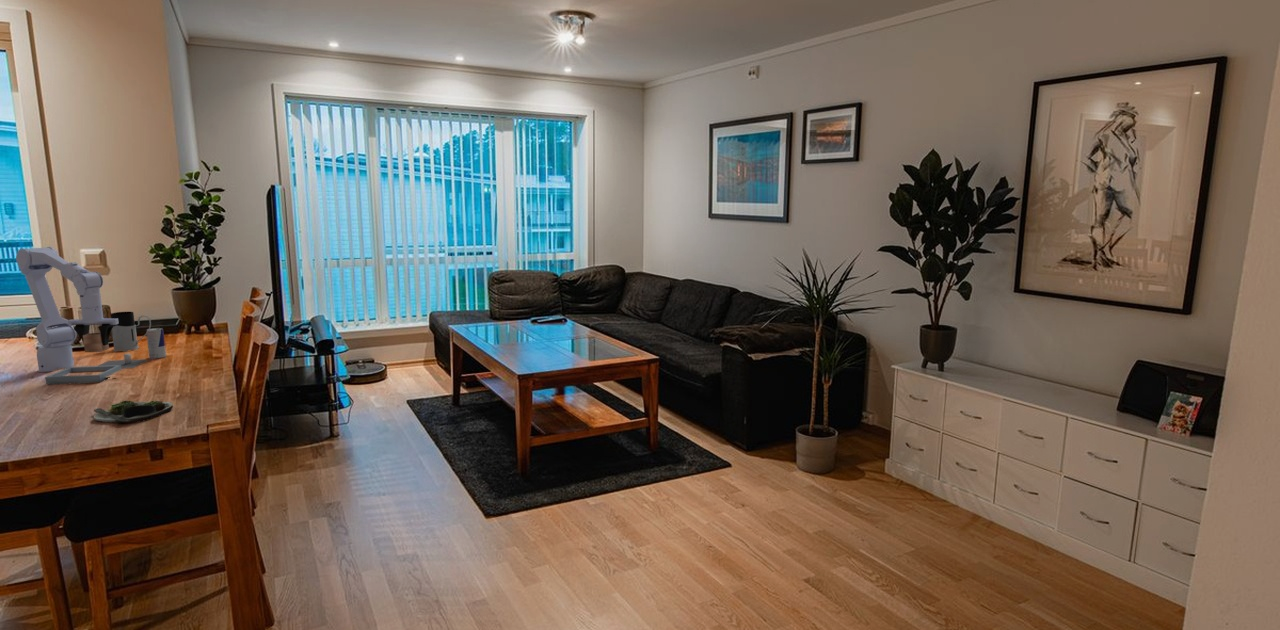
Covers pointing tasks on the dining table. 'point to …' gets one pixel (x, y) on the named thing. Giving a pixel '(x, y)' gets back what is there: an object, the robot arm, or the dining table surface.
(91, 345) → the tan block
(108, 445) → the dining table surface
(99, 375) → the grey square frame
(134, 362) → the stake board
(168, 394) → the dining table surface
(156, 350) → the energy drink
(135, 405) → the salad plate
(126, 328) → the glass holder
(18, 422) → the dining table surface
